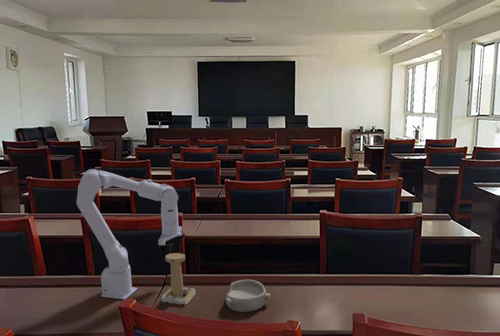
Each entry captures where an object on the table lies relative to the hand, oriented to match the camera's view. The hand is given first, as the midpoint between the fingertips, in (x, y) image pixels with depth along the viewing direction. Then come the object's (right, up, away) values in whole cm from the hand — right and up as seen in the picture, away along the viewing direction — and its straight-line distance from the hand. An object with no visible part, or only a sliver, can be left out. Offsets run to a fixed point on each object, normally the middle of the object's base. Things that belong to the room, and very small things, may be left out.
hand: (172, 257), depth 146 cm
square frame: (+4, -12, -8) cm, 15 cm away
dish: (+27, -12, -11) cm, 32 cm away
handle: (+3, -12, -8) cm, 15 cm away
